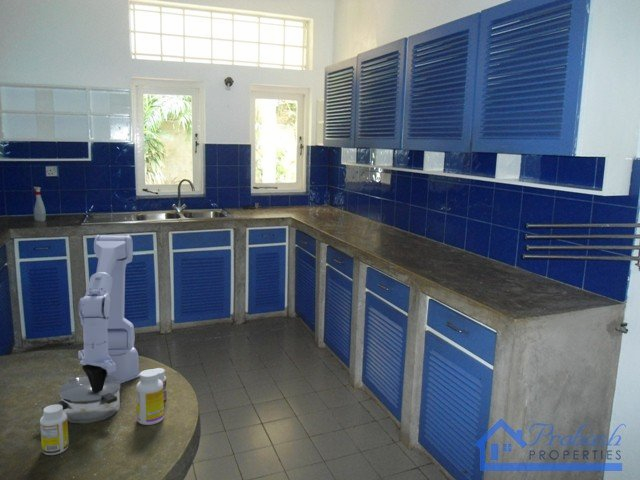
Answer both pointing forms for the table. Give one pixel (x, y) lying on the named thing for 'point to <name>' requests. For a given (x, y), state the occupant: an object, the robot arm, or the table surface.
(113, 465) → the table surface
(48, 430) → the supplement bottle
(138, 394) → the supplement bottle
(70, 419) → the cooker pot
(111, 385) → the cooker lid
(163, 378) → the pill bottle
